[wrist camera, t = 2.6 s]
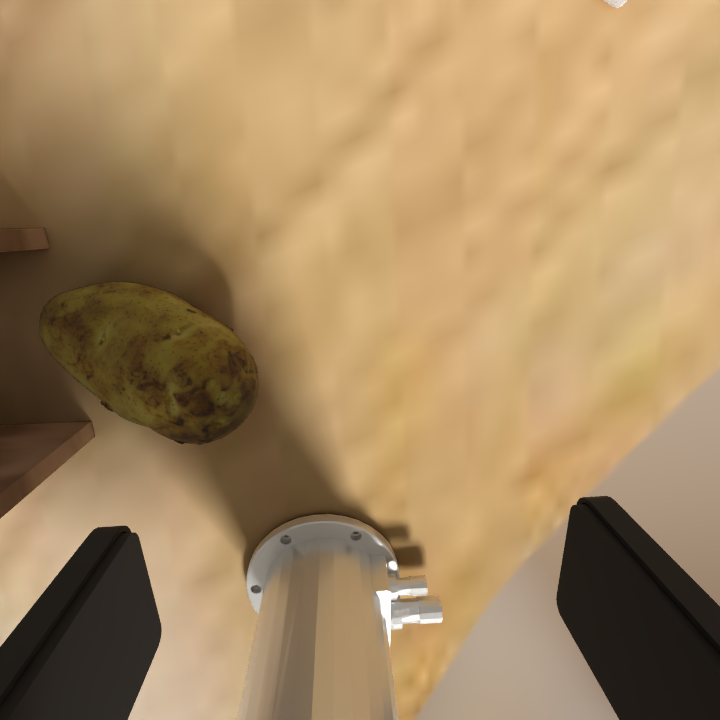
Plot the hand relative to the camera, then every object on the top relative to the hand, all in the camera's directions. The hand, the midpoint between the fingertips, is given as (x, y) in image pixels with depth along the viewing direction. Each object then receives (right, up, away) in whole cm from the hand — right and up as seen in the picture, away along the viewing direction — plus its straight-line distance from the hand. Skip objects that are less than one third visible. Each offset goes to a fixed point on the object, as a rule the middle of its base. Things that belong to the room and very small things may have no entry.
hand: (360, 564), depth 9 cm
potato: (-13, +6, +19) cm, 24 cm away
